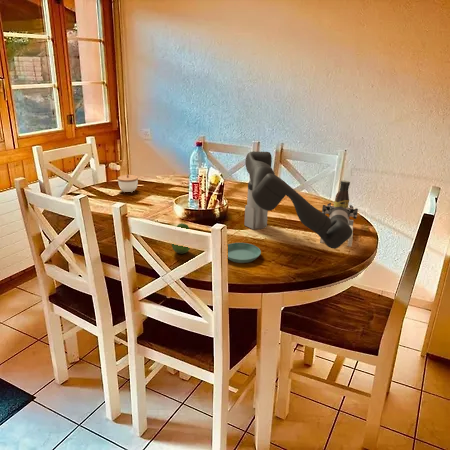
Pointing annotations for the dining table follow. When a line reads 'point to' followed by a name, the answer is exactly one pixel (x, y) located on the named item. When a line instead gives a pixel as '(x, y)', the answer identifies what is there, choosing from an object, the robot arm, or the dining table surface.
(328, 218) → the robot arm
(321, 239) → the channel
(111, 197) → the dining table surface
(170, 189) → the dining table surface
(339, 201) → the sauce bottle
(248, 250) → the saucer
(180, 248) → the avocado
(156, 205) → the dining table surface
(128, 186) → the lidded jar
